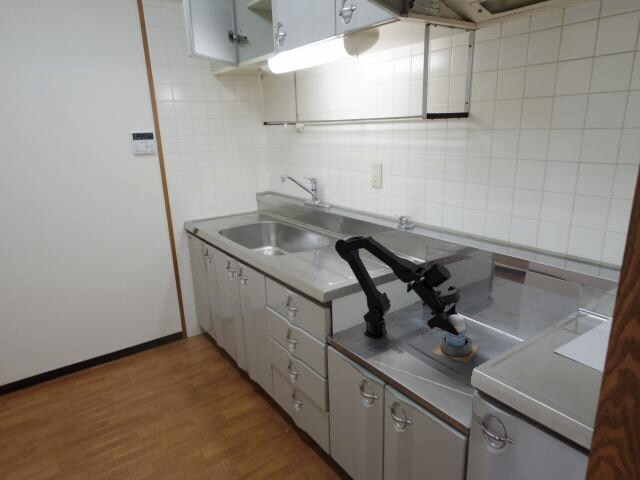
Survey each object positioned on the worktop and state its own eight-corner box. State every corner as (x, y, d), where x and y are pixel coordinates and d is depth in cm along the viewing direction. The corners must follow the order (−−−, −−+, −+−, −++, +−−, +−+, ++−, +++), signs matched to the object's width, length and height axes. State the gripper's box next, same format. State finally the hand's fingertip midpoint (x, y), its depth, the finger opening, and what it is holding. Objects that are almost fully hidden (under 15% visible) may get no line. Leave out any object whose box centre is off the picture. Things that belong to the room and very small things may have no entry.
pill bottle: (448, 352, 133) (449, 321, 130) (443, 343, 139) (445, 313, 136) (466, 352, 133) (468, 321, 130) (461, 343, 139) (463, 313, 136)
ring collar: (435, 351, 135) (435, 342, 134) (447, 339, 143) (447, 330, 142) (465, 360, 129) (465, 351, 128) (475, 347, 137) (475, 338, 136)
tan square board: (431, 353, 135) (431, 352, 135) (445, 338, 144) (445, 337, 144) (467, 364, 128) (467, 363, 128) (479, 348, 137) (479, 347, 137)
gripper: (438, 291, 124) (473, 331, 121) (452, 272, 139) (484, 307, 137) (412, 309, 130) (446, 348, 127) (429, 289, 145) (459, 323, 143)
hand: (460, 330), depth 133 cm, fingers closed on pill bottle, 6 cm apart
